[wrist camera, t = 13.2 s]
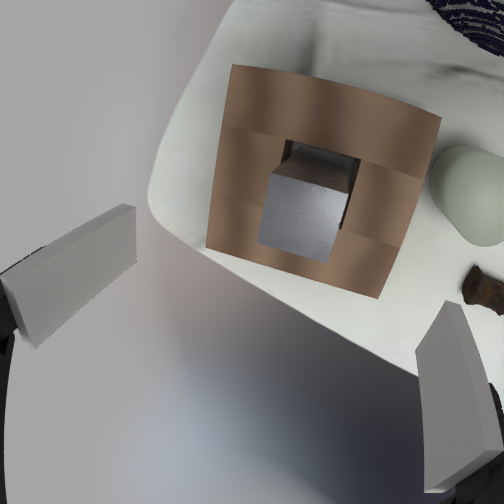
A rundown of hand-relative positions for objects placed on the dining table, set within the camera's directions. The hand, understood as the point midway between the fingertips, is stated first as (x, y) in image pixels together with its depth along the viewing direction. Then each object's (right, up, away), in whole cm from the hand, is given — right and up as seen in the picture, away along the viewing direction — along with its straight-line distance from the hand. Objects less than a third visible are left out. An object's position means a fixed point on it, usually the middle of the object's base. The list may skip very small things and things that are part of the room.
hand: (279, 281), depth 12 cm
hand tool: (+33, -4, +16) cm, 37 cm away
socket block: (+6, +9, +18) cm, 21 cm away
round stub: (+21, +8, +14) cm, 26 cm away
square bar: (+6, +9, +18) cm, 21 cm away
